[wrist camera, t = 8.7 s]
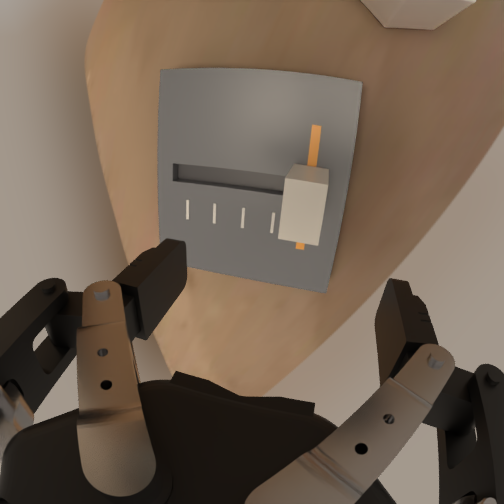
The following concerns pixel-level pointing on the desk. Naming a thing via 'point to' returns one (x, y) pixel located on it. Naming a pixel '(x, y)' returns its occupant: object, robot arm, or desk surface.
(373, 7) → the jar
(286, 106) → the fader console
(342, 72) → the desk surface
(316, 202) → the fader tab
